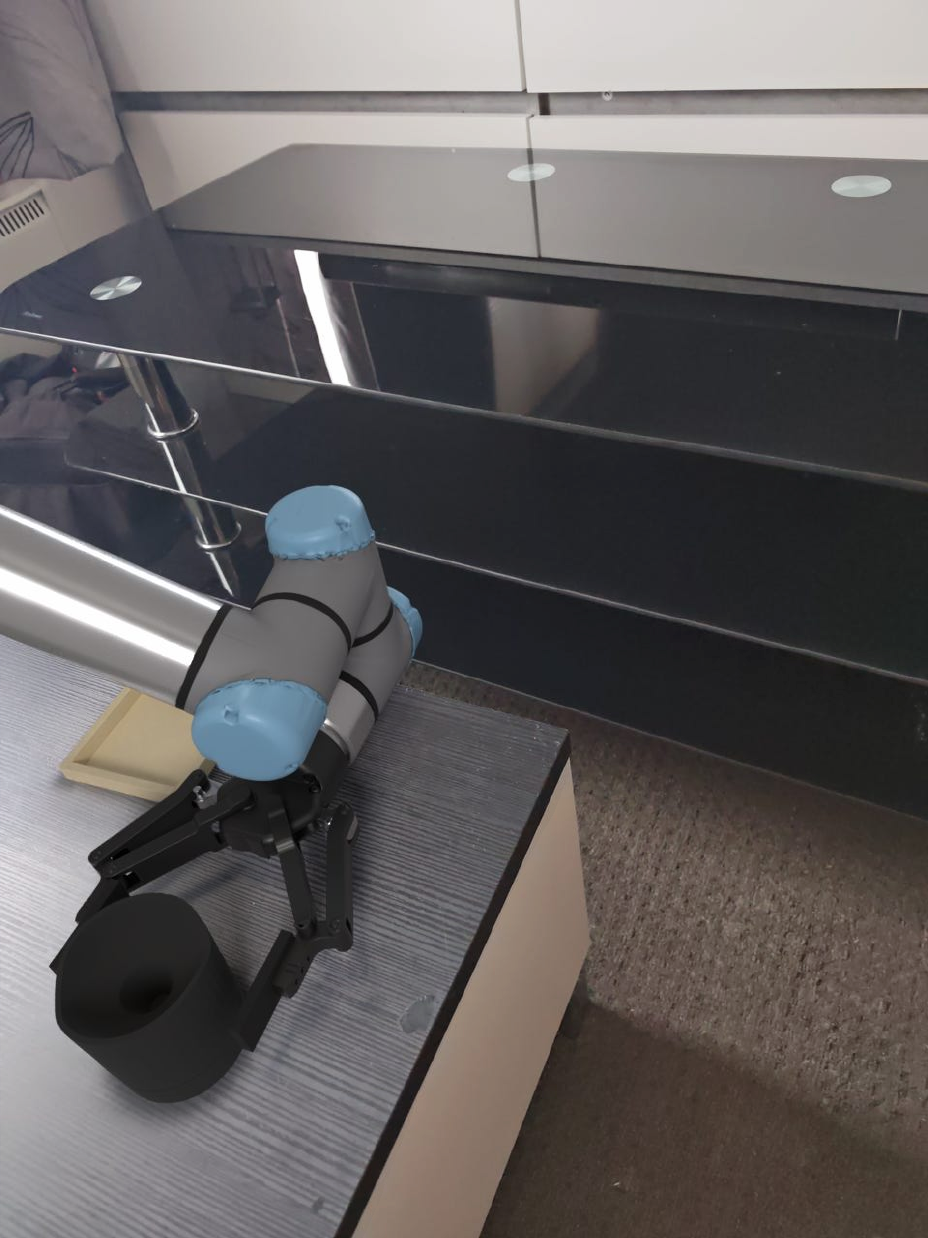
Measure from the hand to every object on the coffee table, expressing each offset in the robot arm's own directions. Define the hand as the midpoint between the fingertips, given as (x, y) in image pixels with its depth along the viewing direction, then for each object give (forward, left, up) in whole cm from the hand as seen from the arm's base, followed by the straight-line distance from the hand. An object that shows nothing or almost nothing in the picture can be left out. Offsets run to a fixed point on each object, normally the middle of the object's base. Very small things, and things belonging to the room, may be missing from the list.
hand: (147, 1009), depth 56 cm
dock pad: (-17, +23, -6) cm, 29 cm away
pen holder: (0, +1, -6) cm, 6 cm away
